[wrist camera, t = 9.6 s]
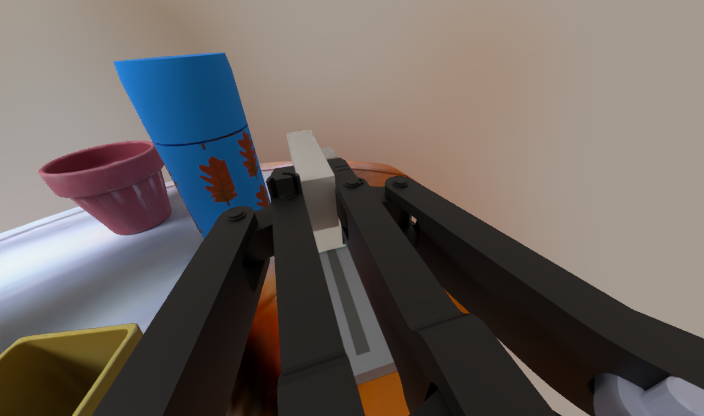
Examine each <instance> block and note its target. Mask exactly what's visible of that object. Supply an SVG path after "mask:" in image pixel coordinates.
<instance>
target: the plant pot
mask: <svg viewBox="0 0 704 416" xmlns="http://www.w3.org/2000/svg"><path fill="white" fill-rule="evenodd" d="M163 166H164V163H163V161H162V159H161V157H160V155H159V153H158V151H157V149H156V148H155V146H154V144H153V142H149V141H127V142H118V143H112V144H106V145H101V146H96V147H92V148H88V149H84V150H80V151H77V152H74V153H71V154H68V155H65V156H62V157H60V158H57V159H55V160H53V161H51V162H49V163H47V164H45V165H44V166H42V167H41V168H40V169H39V172H38V173H39V175H40V176H41V177H42V179H43V180H44V181H45V182H46V184H47V185H48V186H49V187H50V188H51V189H52V191H53V192H54V193H55V194H56V195H58V196H60V197H65V198H70V199H72V200H73V201H74V202H75V203H76V204H78V205H79V206H80V207H81V208H83V209H84V210H85V211H87V212H88V213H89V214H91V215H92V216H93V217H95V218H96V219H97V220H99V221H100V222H101V223H103V224H104V225H105V226H106V227H108V228H109V229H110V230H111V231H113V232H114V233H116V234H119V235H130V234H136V233H139V232H143V231H146V230H148V229H151V228H153V227H155V226H157V225H159V224H160V223H162V222H163V221H165V220H166V219H167V218H168V217H169V216H170V214H171V207H170V203H169V199H168V194H167V190H166V186H165V182H164V179H163V175H162V171H161V169H162V167H163Z"/></svg>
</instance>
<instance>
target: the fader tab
mask: <svg viewBox="0 0 704 416" xmlns="http://www.w3.org/2000/svg"><path fill="white" fill-rule="evenodd" d="M320 149H321V151H322V153H323V154H324V156H325V158H326V160H328V159H334V158H338V157H337V155H336V153H335V152H334V150H333V149H332V147H331V146H330V147H323V148H320ZM313 233H314V237H315V241H316V244H317V248H318V252H323V251H327V250H331V249H336V248H340V247H344V246H345V244H343V242H342V230H341V223H340V220H339V226H337V227H333V228H328V229H323V230H319V231H314V232H313Z"/></svg>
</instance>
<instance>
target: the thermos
mask: <svg viewBox="0 0 704 416" xmlns="http://www.w3.org/2000/svg"><path fill="white" fill-rule="evenodd" d="M114 65H115V67H116V70H117V72H118V75H119V78H120V80H121V83H122V85H123V86H124V88H125V90H126V92H127V94H128V96H129V98H130V99H131V102H132V104H133V106H134V107H135V109H136V111H137V113H138V115H139V117H140V119H141V121H142V123H143V125H144V126H145V128H146V130H147V132H148V134H149V136H150V138H151V139H152V142H153V144H154V146H155V148H156V149H157V151H158V153H159V155H160V157H161V159H162V161H163V163H164V165H165V167H166V169H167V170H168V172H169V174H170V176H171V178H172V180H173V182H174V184H175V186H176V188H177V190H178V191H179V193H180V195H181V197H182V199H183V201H184V203H185V205H186V207H187V209H188V211H189V212H190V214H191V216H192V218H193V220H194V222H195V224H196V226H197V228H198V229H199V231H200V233H201V234H202V236H203V238H204V239H205V237H206V236H207V234H208V233H209V231H210V230H211V228H212V227H213V225H214V223H215V222H216V220H217V219H218V217H219V216H220V215H221V214H222V213H223V212H225V211H226V210H228V209H230V208H233V207H238V206H248V207H251V208H252V209H253V210H254V212H255V211H258V210H260V209H263V208H265V207H266V206H268V205H269V204H270V200H269V196H268V193H267V189H266V186H265V183H264V179H263V176H262V172H261V169H260V165H259V163H258V159H257V155H256V152H255V148H254V145H253V141H252V138H251V134H250V131H249V128H248V124H247V121H246V117H245V114H244V110H243V107H242V104H241V100H240V97H239V93H238V90H237V86H236V83H235V80H234V76H233V73H232V69H231V67H230V64H229V62H228V60H227V57H226V55H225V53H208V54H193V55H180V56H167V57H155V58H144V59H134V60H124V61H115V62H114Z"/></svg>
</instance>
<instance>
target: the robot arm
mask: <svg viewBox="0 0 704 416" xmlns="http://www.w3.org/2000/svg"><path fill="white" fill-rule="evenodd" d="M287 138H288V143H289V149H290V153H291V159H292V164H293V166H288V167H282V168H276V169H274V171H273V172H272V173H271V176H270V177H269V178H267V181H266V183H267V187H268V190H269V194H270V198H271V203H270V204H269V205H268V206H266V207H265V208H263V209H260V210H258V211H255V212H254V210H253V209H252V208H251V207H248V206H238V207H233V208H230V209H228V210H226V211H225V212H223V213H222V214H221V215H220V216H219V217H218V219H217V220H216V222H215V223H214V225H213V227H212V228H211V230H210V231H209V233H208V234H207V236H206V237H205V239H204V241H203V242H202V244H201V245H200V247H199V248H198V250H197V252H196V253H195V255H194V256H193V258H192V259H191V261H190V263H189V264H188V266H187V267H186V269H185V270H184V272H183V274H182V275H181V277H180V278H179V280H178V281H177V283H176V284H175V286H174V288H173V289H172V291H171V292H170V294H169V295H168V297H167V299H166V300H165V302H164V303H163V305H162V306H161V308H160V310H159V311H158V313H157V314H156V316H155V317H154V319H153V320H152V322H151V324H150V325H149V327H148V328H147V330H146V331H145V333H144V335H143V336H142V338H141V339H140V341H139V342H138V344H137V346H136V347H135V349H134V350H133V352H132V353H131V355H130V356H129V358H128V360H127V361H126V363H125V364H124V366H123V367H122V369H121V371H120V372H119V374H118V375H117V377H116V378H115V380H114V382H113V383H112V385H111V386H110V388H109V389H108V391H107V392H106V394H105V396H104V397H103V399H102V400H101V402H100V403H99V405H98V407H97V408H96V410H95V411H94V413H93V414H92V416H225V415H226V412H227V408H228V405H229V401H230V398H231V395H232V391H233V388H234V384H235V381H236V377H237V374H238V370H239V367H240V363H241V360H242V356H243V353H244V350H245V346H246V343H247V339H248V336H249V332H250V329H251V325H252V322H253V318H254V315H255V311H256V308H257V305H258V301H259V298H260V294H261V291H262V287H263V284H264V280H265V277H266V273H267V270H268V267H269V263H270V257H272V256H274V257H275V273H276V289H277V305H278V322H279V338H280V354H281V375H280V377H279V379H278V386H277V396H278V416H365V414H364V410H363V406H362V403H361V399H360V395H359V392H358V388H357V385H356V381H355V377H354V374H353V370H352V367H351V363H350V360H349V357H348V355H347V354H346V351H345V348H344V345H343V341H342V337H341V334H340V330H339V326H338V323H337V319H336V315H335V311H334V308H333V304H332V300H331V296H330V293H329V289H328V285H327V282H326V278H325V274H324V270H323V267H322V263H321V259H320V255H319V252H318V248H317V244H316V241H315V237H314V233H313V232H314V231H319V230H323V229H328V228H333V227H337V226H339V220H340V223H341V230H342V242H343V244H345V242H346V244H347V247H348V249H349V252H350V254H351V257H352V259H353V262H354V264H355V267H356V269H357V272H358V274H359V277H360V279H361V282H362V284H363V286H364V289H365V291H366V294H367V296H368V299H369V301H370V304H371V306H372V309H373V311H374V314H375V316H376V319H377V321H378V324H379V326H380V329H381V331H382V334H383V336H384V338H385V341H386V343H387V346H388V348H389V351H390V353H391V356H392V358H393V361H394V363H395V366H396V368H397V371H398V373H399V376H400V379H401V382H402V386H403V392H404V396H405V400H406V404H407V407H408V409H409V412H410V415H409V416H561V415H560V414H558V413H556V412H555V411H553V410H552V409H551V408H550V406H549V405H548V404H547V402H546V401H545V400H544V399H543V397H542V396H541V395H540V393H539V392H538V391H537V390H536V388H535V387H534V386H533V384H532V383H531V382H530V381H529V379H528V378H527V377H526V375H525V374H524V373H523V372H522V370H521V369H520V368H519V366H518V365H517V364H516V363H515V361H514V360H513V359H512V357H511V356H510V355H509V354H508V352H507V351H506V350H505V348H504V347H503V346H502V345H501V343H500V342H499V341H498V339H499V340H500V341H501V342H502V343H503V344H504V345H505V346H506V347H507V348H508V349H509V350H510V351H512V352H513V353H514V354H515V355H516V356H517V357H518V358H519V359H520V360H521V361H522V362H523V363H525V364H526V365H527V366H528V367H529V368H530V369H531V370H532V371H533V372H534V373H536V374H537V375H538V376H539V377H540V378H541V379H542V380H544V381H545V382H546V383H547V384H548V385H549V386H550V387H552V388H553V389H554V390H556V391H557V392H558V393H559V394H561V395H562V396H563V397H565V398H566V399H567V400H569V401H570V402H571V403H573V404H574V405H575V406H577V407H578V408H580V409H581V410H583V411H584V412H586V413H587V414H589V415H590V416H704V339H703V338H701V337H699V336H696V335H693V334H691V333H689V332H686V331H683V330H682V329H679V328H677V327H674V326H672V325H669V324H667V323H664V322H662V321H659V320H657V319H655V318H652V317H650V316H647V315H645V314H642V313H640V312H637V311H635V310H633V309H631V308H629V307H627V306H626V305H624V304H623V303H621V302H619V301H617V300H616V299H614V298H612V297H610V296H609V295H607V294H606V293H604V292H602V291H600V290H599V289H597V288H595V287H593V286H592V285H590V284H589V283H587V282H585V281H583V280H582V279H580V278H578V277H577V276H575V275H573V274H572V273H570V272H568V271H566V270H565V269H563V268H561V267H560V266H558V265H556V264H555V263H553V262H551V261H550V260H548V259H546V258H544V257H543V256H541V255H539V254H538V253H536V252H534V251H533V250H531V249H529V248H528V247H526V246H524V245H522V244H521V243H519V242H517V241H516V240H514V239H512V238H510V237H509V236H507V235H505V234H504V233H502V232H500V231H499V230H497V229H495V228H494V227H492V226H490V225H488V224H487V223H485V222H483V221H482V220H480V219H478V218H477V217H475V216H473V215H472V214H470V213H468V212H466V211H465V210H463V209H461V208H460V207H458V206H456V205H455V204H453V203H451V202H449V201H448V200H446V199H444V198H443V197H441V196H439V195H438V194H436V193H434V192H433V191H431V190H429V189H427V188H426V187H424V186H422V185H421V184H419V183H417V182H416V181H414V180H412V179H410V178H408V177H403V176H395V177H391V178H389V179H387V180H386V181H385V187H372V186H369V184H368V183H367V182H366V181H365V180H364V179H362V178H359V177H356V175H355V174H354V172H353V171H352V169H351V168H350V167H349V166H348V164H347V162H346V161H345V160H343V159H341V158H334V159H328V160H326V158H325V156H324V154H323V153H322V151H321V149H320V147H319V145H318V143H317V141H316V139H315V137H314V136H313V133H312V132H311V130H305V131H298V132H290V133H287ZM412 216H413V217H414V218H416V220H417V221H416V223H414V222H413V221H412V220H411V218H412ZM442 287H443V288H444V289H445V290H446V291H447V292H448V293H449V294H450V295H451V296H452V297H453V298H455V299H456V300H457V301H458V302H459V303H460V304H461V305H462V306H463V307H464V308H465V309H466V310H467V311H469V312H470V313H471V314H464V313H462V312H461V311H460V310H459V309H458V308H457V307H456V306H455V304H454V303H453V301H452V300H451V299H450V297H449V296H448V294H447V293H446V292H445V290H444V289H443V288H442ZM496 337H497V338H498V339H497V338H496Z"/></svg>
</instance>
